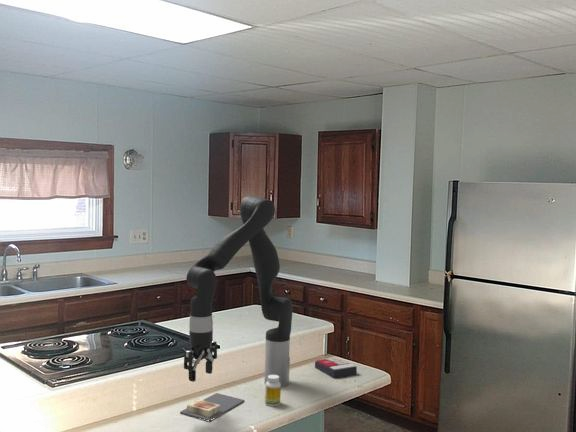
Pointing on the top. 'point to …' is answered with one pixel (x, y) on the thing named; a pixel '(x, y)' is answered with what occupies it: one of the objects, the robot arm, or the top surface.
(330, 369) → the red and black box
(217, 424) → the top surface
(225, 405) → the mat
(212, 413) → the wooden block
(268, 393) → the supplement bottle
